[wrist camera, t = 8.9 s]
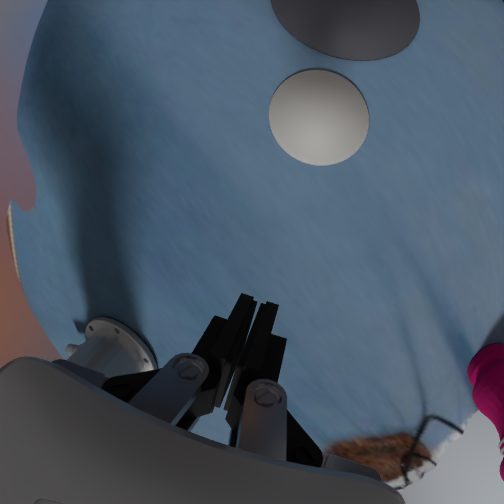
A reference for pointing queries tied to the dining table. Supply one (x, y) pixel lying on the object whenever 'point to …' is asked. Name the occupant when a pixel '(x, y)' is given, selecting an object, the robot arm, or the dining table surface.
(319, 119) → the plain round gray disc
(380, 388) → the dining table surface
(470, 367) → the pepper mill
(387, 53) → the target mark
